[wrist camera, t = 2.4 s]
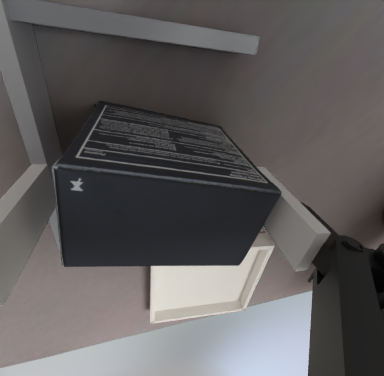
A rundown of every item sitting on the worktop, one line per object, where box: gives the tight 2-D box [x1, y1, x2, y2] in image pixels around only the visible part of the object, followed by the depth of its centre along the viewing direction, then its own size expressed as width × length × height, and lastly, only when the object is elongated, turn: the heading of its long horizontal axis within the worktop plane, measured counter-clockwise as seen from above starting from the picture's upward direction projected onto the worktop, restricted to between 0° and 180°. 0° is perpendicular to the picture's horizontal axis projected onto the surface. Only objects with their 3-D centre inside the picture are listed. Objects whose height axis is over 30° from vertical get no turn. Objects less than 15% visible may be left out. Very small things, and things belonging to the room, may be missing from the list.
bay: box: [0, 0, 260, 251], centre depth 18 cm, size 15×18×3 cm
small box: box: [51, 101, 282, 267], centre depth 15 cm, size 11×6×10 cm, turn 76°
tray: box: [150, 233, 275, 324], centre depth 30 cm, size 15×15×2 cm
